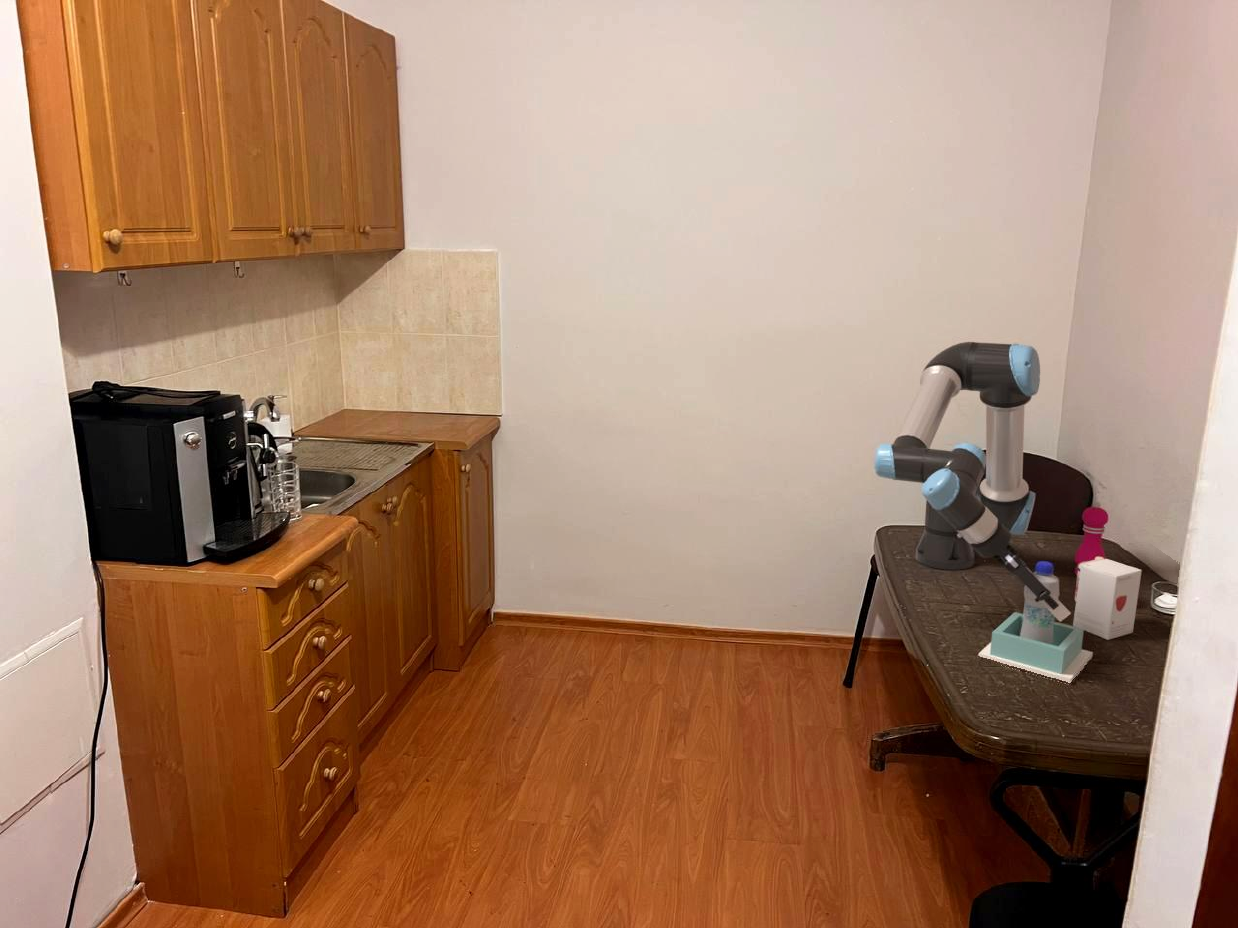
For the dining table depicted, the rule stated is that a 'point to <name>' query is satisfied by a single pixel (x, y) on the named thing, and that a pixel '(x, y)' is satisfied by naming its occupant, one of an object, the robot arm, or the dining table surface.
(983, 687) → the dining table surface
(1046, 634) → the bottle
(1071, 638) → the holder
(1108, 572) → the supplement box
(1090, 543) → the magenta tall rounded piece
